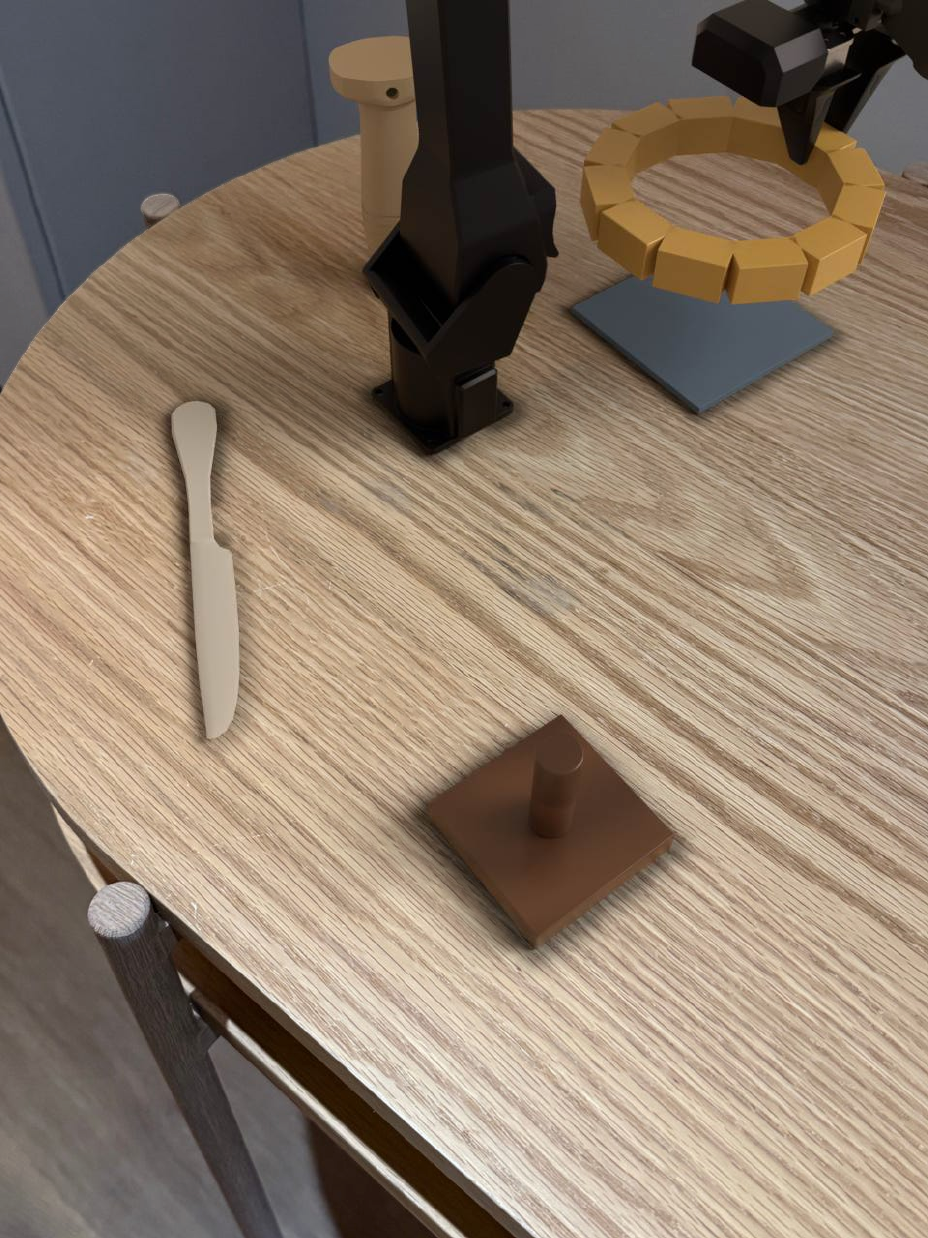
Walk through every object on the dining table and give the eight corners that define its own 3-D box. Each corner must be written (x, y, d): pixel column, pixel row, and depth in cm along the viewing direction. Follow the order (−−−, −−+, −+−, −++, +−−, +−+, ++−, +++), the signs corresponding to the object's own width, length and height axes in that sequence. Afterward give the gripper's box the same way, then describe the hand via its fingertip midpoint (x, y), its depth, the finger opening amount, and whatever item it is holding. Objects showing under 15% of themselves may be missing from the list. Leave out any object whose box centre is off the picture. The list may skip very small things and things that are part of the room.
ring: (525, 194, 69) (527, 157, 67) (726, 103, 75) (733, 67, 73) (724, 343, 61) (732, 307, 59) (931, 229, 67) (945, 192, 65)
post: (428, 817, 54) (424, 735, 48) (559, 729, 57) (571, 641, 51) (535, 950, 50) (546, 880, 44) (670, 848, 53) (697, 769, 47)
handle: (449, 292, 77) (447, 73, 65) (354, 304, 76) (334, 85, 64) (436, 248, 79) (432, 31, 67) (344, 259, 79) (323, 42, 67)
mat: (570, 312, 75) (571, 306, 75) (702, 245, 80) (703, 239, 79) (697, 414, 70) (699, 408, 69) (832, 336, 74) (834, 330, 74)
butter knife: (218, 396, 70) (169, 402, 69) (247, 731, 56) (186, 740, 56) (219, 401, 70) (171, 407, 70) (248, 735, 56) (188, 745, 56)
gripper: (891, -20, 50) (804, 279, 62) (1144, -128, 56) (1019, 162, 69) (711, -109, 55) (664, 183, 68) (961, -198, 62) (876, 83, 74)
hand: (812, 154), depth 69 cm, fingers closed on ring, 2 cm apart
